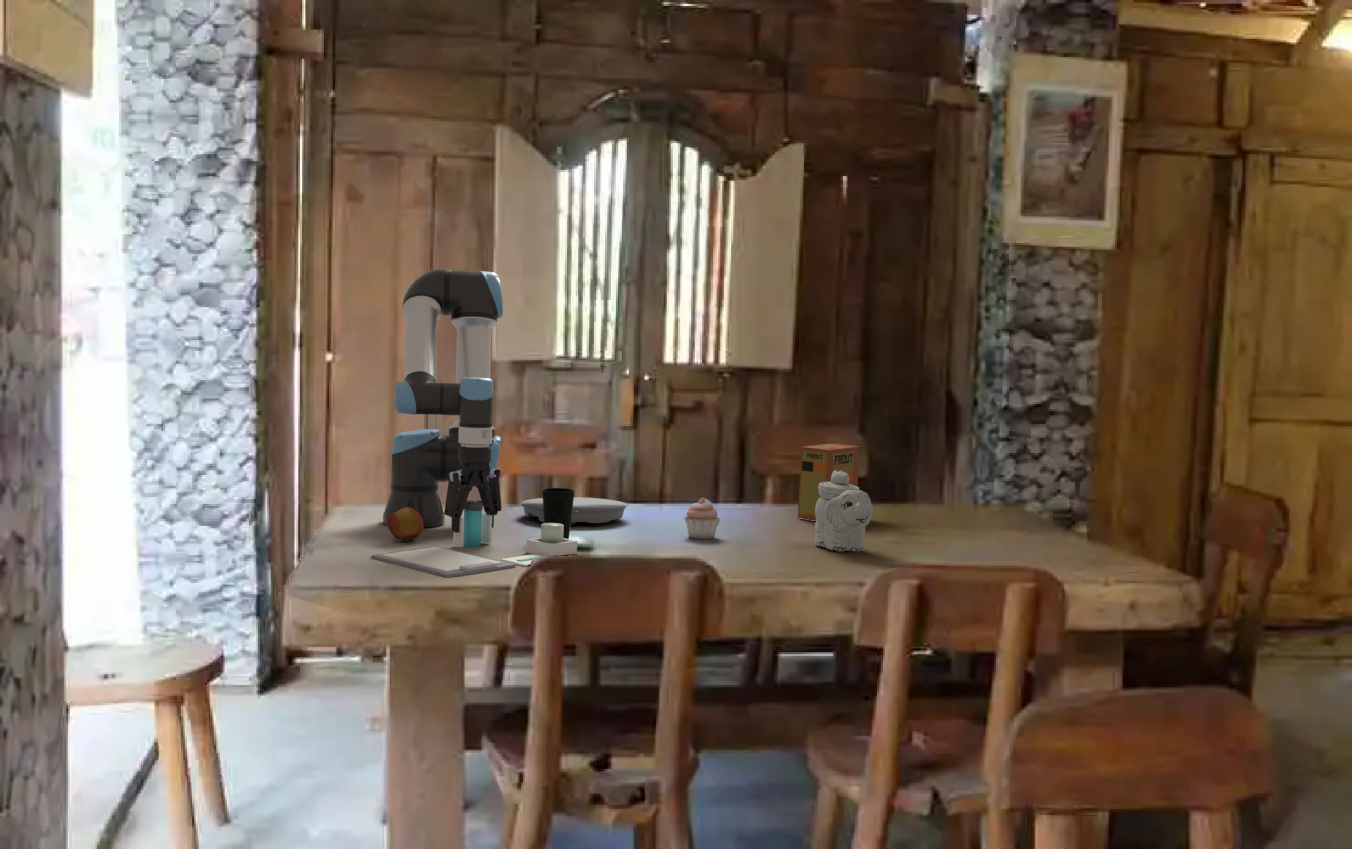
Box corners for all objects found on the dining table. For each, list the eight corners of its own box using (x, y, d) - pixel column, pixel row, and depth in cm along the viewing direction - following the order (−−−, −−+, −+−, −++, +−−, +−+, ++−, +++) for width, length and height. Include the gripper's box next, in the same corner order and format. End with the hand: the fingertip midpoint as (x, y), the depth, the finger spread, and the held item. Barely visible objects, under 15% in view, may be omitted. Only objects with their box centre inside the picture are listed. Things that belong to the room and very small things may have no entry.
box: (827, 513, 378) (831, 443, 377) (855, 517, 373) (859, 446, 372) (797, 519, 365) (801, 446, 363) (826, 523, 360) (830, 449, 358)
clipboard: (371, 557, 285) (371, 551, 285) (438, 548, 299) (438, 543, 298) (448, 577, 268) (448, 570, 268) (515, 566, 281) (515, 560, 281)
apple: (409, 537, 312) (410, 503, 311) (429, 542, 306) (429, 508, 306) (381, 540, 307) (382, 505, 306) (400, 545, 301) (401, 510, 300)
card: (500, 560, 288) (500, 558, 288) (535, 555, 295) (535, 553, 295) (525, 566, 282) (525, 563, 282) (560, 561, 290) (560, 558, 290)
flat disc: (647, 520, 353) (648, 504, 352) (585, 532, 329) (585, 514, 329) (563, 510, 368) (563, 494, 367) (497, 521, 344) (498, 504, 344)
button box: (526, 552, 298) (526, 539, 298) (552, 548, 304) (552, 535, 304) (550, 558, 293) (551, 544, 293) (576, 554, 299) (577, 540, 299)
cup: (567, 543, 312) (569, 493, 311) (536, 541, 313) (538, 490, 312) (576, 538, 319) (578, 489, 318) (546, 536, 321) (547, 486, 320)
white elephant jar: (867, 558, 309) (871, 478, 308) (803, 552, 314) (807, 473, 312) (878, 547, 325) (882, 470, 323) (817, 541, 329) (821, 466, 328)
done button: (536, 541, 298) (536, 524, 298) (552, 538, 302) (552, 522, 302) (551, 544, 295) (552, 527, 295) (567, 541, 299) (568, 525, 298)
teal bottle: (458, 545, 304) (460, 500, 304) (473, 543, 308) (474, 499, 307) (470, 547, 302) (472, 503, 301) (485, 545, 305) (486, 501, 304)
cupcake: (674, 536, 328) (676, 496, 328) (699, 533, 335) (701, 493, 334) (702, 542, 322) (704, 501, 321) (727, 538, 329) (729, 498, 328)
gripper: (450, 449, 293) (447, 551, 294) (519, 444, 308) (516, 542, 310) (428, 445, 297) (426, 546, 299) (498, 441, 313) (495, 537, 315)
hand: (472, 544), depth 304 cm, fingers open, 8 cm apart
